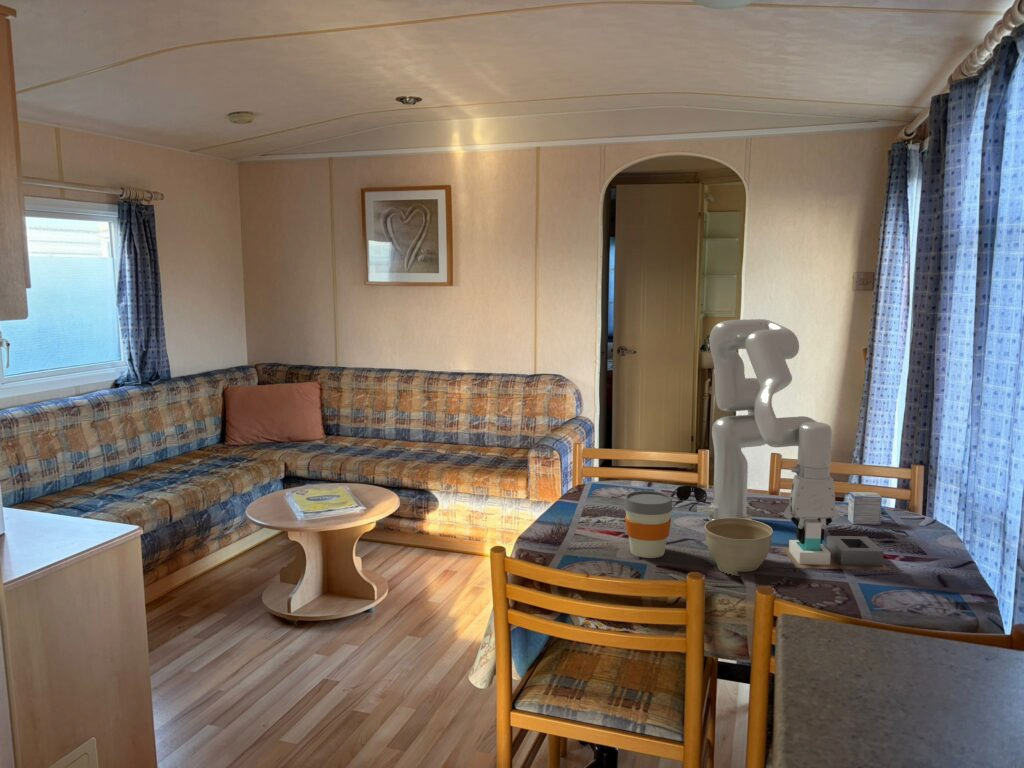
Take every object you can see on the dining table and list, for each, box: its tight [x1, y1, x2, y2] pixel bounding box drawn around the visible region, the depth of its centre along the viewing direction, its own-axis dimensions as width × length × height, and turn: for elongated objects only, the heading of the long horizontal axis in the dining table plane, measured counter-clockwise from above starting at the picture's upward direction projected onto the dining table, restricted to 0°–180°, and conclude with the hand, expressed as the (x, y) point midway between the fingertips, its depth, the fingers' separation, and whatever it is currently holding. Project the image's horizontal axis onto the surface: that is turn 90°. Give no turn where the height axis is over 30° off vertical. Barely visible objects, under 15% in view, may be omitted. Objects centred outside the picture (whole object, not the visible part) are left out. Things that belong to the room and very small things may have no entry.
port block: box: [825, 535, 885, 567], centre depth 187 cm, size 10×10×4 cm
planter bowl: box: [704, 518, 774, 577], centre depth 184 cm, size 16×16×11 cm
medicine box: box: [847, 491, 883, 525], centre depth 218 cm, size 8×4×9 cm, turn 84°
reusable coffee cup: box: [623, 490, 673, 559], centre depth 196 cm, size 13×13×15 cm
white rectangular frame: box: [788, 539, 831, 565], centre depth 188 cm, size 7×9×3 cm
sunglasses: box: [669, 484, 708, 510], centre depth 237 cm, size 10×12×5 cm
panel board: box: [781, 546, 891, 571], centre depth 188 cm, size 22×14×2 cm, turn 85°
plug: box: [799, 518, 822, 551], centre depth 187 cm, size 4×5×10 cm
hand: (809, 541), depth 188 cm, fingers closed on plug, 3 cm apart
